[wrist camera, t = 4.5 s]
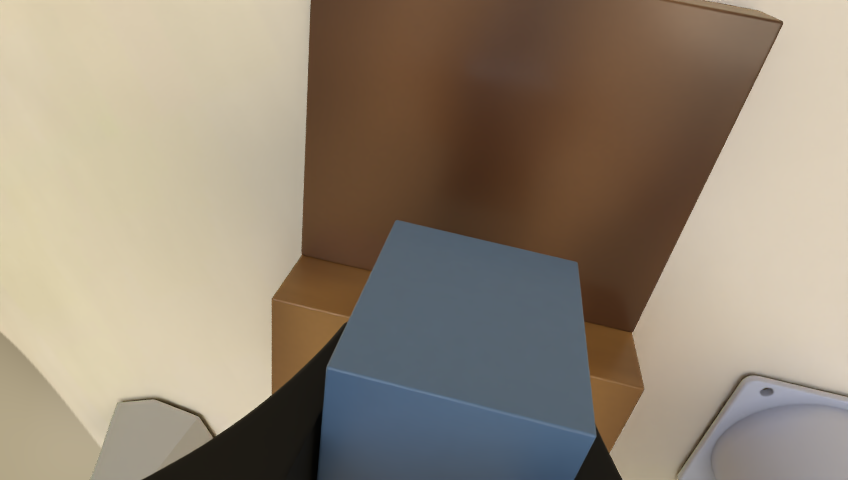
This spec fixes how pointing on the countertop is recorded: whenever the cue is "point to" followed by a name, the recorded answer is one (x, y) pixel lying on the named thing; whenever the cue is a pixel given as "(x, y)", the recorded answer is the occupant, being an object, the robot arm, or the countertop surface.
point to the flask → (147, 440)
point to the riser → (515, 149)
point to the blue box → (459, 366)
